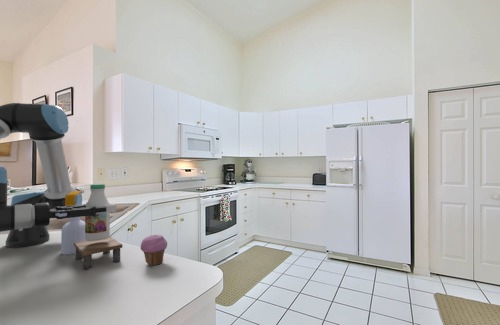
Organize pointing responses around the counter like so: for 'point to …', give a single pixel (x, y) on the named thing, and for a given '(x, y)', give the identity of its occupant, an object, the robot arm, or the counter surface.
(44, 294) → the counter surface
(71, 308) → the counter surface
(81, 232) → the soap bottle
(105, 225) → the milk bottle
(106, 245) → the pegged shelf
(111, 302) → the counter surface
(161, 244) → the cupcake
